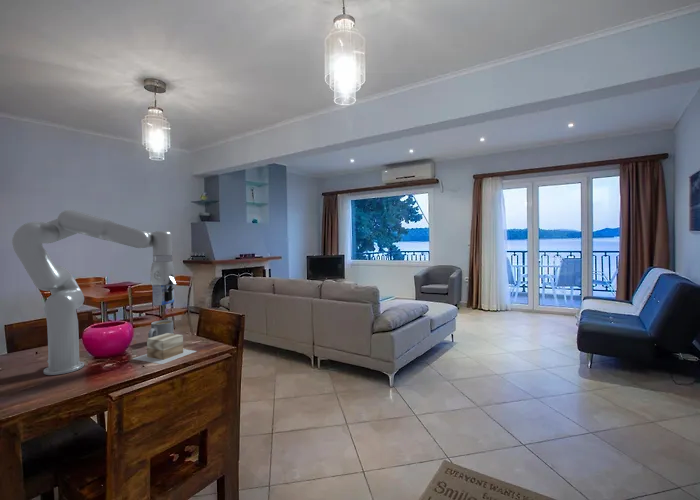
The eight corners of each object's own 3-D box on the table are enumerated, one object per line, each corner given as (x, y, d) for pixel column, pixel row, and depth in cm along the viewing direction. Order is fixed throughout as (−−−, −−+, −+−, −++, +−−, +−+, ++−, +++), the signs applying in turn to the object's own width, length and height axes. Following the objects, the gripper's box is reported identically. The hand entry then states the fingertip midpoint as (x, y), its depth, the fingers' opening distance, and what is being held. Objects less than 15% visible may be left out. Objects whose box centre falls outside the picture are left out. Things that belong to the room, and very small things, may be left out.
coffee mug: (164, 338, 184) (164, 319, 183) (177, 340, 180) (177, 320, 179) (140, 344, 172) (140, 324, 171) (153, 347, 167) (153, 326, 167)
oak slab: (147, 356, 150) (147, 347, 150) (167, 350, 159) (167, 341, 159) (163, 359, 146) (163, 350, 146) (183, 352, 155) (183, 343, 155)
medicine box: (161, 305, 148) (160, 285, 147) (152, 305, 149) (152, 285, 148) (174, 302, 155) (174, 283, 155) (165, 302, 156) (165, 283, 156)
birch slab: (147, 347, 150) (146, 338, 150) (167, 341, 159) (167, 333, 159) (163, 350, 146) (163, 341, 146) (183, 343, 155) (182, 335, 155)
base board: (132, 360, 148) (132, 358, 148) (168, 348, 165) (168, 346, 165) (161, 366, 141) (161, 364, 141) (197, 353, 157) (197, 351, 157)
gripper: (141, 259, 151) (142, 300, 152) (169, 259, 145) (170, 303, 145) (157, 258, 158) (158, 298, 159) (184, 259, 152) (185, 300, 152)
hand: (163, 299), depth 152 cm, fingers closed on medicine box, 5 cm apart
